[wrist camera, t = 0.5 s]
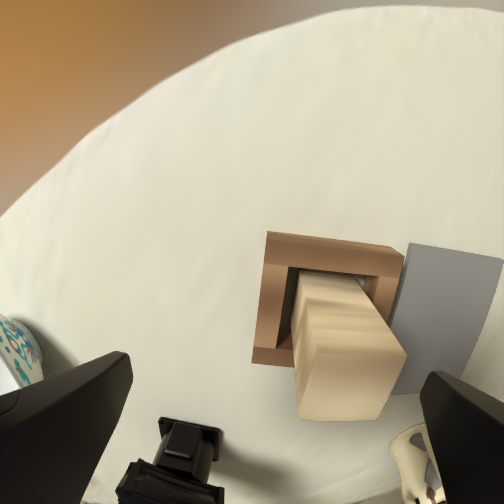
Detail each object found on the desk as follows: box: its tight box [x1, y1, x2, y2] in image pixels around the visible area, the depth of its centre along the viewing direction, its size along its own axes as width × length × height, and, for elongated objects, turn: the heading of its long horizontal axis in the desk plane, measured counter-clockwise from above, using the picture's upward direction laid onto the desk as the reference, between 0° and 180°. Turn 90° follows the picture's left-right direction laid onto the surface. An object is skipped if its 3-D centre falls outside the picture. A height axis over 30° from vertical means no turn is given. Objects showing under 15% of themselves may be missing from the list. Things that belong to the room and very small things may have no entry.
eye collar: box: [252, 231, 405, 367], centre depth 19 cm, size 9×9×2 cm
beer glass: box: [389, 424, 447, 504], centre depth 17 cm, size 7×7×15 cm
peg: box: [291, 270, 407, 421], centre depth 16 cm, size 4×4×10 cm
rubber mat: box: [387, 243, 504, 395], centre depth 20 cm, size 14×11×1 cm
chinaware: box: [0, 314, 44, 395], centre depth 21 cm, size 15×15×8 cm
